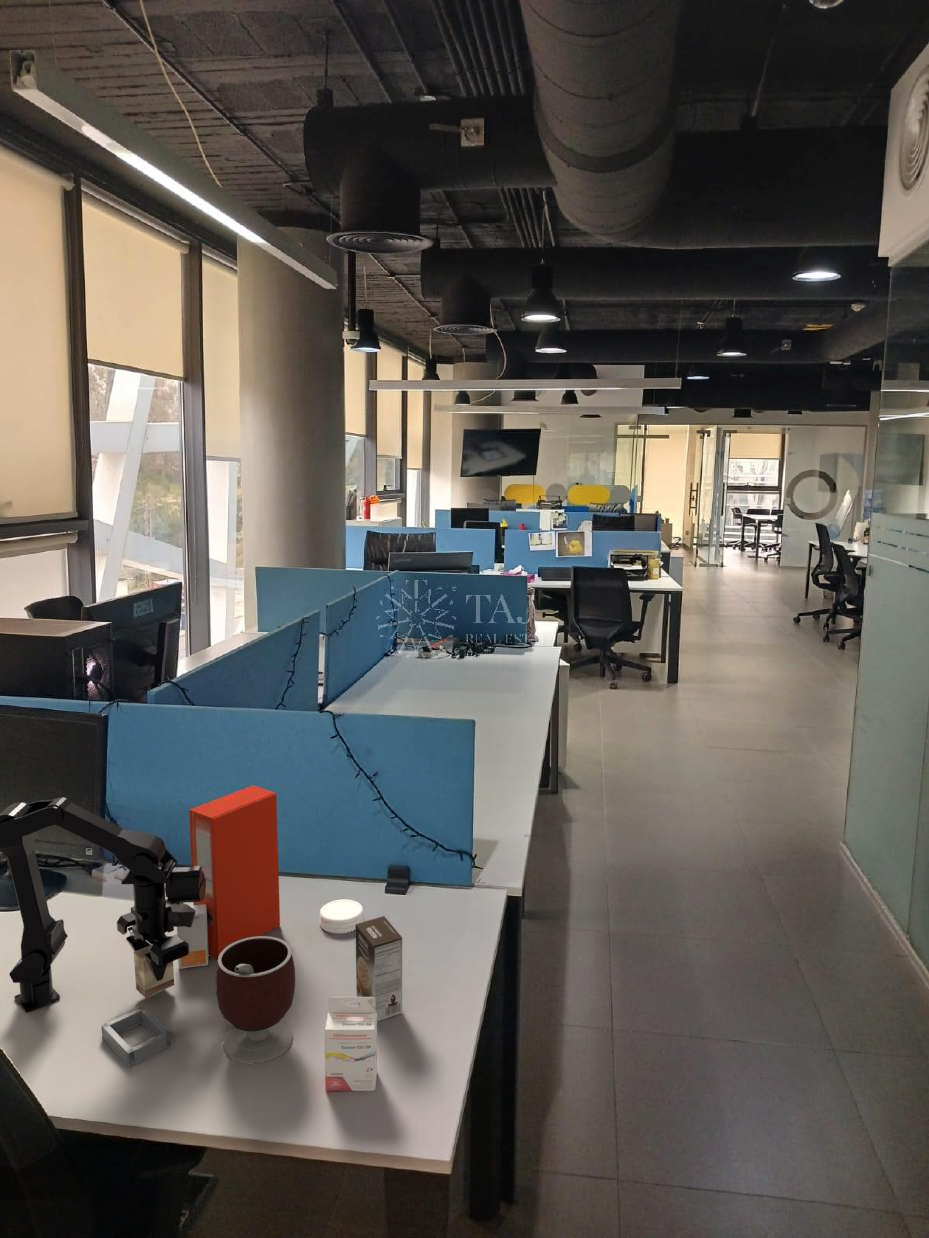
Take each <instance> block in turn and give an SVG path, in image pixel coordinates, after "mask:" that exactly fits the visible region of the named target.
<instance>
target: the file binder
mask: <svg viewBox="0 0 929 1238" xmlns="http://www.w3.org/2000/svg"><path fill="white" fill-rule="evenodd" d="M277 797H278V795H277V793H276V792H274V791H271V790H268V789H265V788H262V787H259V786H257V785H251V786H248V787H245V788H243V789H239V790H237V791H234V792H233V793H230V794H227V795H224V796H222V797H218V798H217V799H213V800H211V801H208V802H206V803H204V804H200V805H198V806H196V807H193V808H190V809H189V810H188V812H189V813H188V815H189V816H188V817H189V837H190V857H191V858H190V859H191V867H193V866H201V867H202V871H203V872H204V876H205V877H206V891H205V897H204V900H203V902H192V903H193V905H203V904H206V905H207V932H208V957H211V958H213V959H215V960H217V961H218V957H219V955H220V953H221V952H222V951H223V950H224V949H225V948H226V947H227V946H229V945H230V944H232V943H234V942H236V941H239V940H242V939H245V938H250V937H257V936H264V935H266V934H267V932H268V933H270V932H271V931H273V930H275V929H276V927H277V928H279V927H280V925H281V917H280V916H281V913H280V912H281V909H280V908H281V907H280V880H279V879H280V875H279V874H280V873H279V872H280V870H279V837H278V836H279V835H278V834H279V833H278V805H277V803H278V802H277V801H278V798H277ZM274 928H275V929H274ZM263 934H264V935H263Z"/></svg>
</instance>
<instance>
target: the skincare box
mask: <svg viewBox="0 0 929 1238" xmlns="http://www.w3.org/2000/svg"><path fill="white" fill-rule="evenodd" d="M189 906H190V907H192V908H193V909H194V910H196V912H195V916H194V920H193V923H192V927H186V926H183V927H176V935H177V936H179V937H181V938H182V939H183V940H185V941H186V942H187V943H188V944H189V954H188V955H186V956H184V957H182V958H179V959H177V960H178V963H177V964H178V969H179V970H182V969H189V968H196V967H205V966H209V955H208V932H207V905H206V904H203V905H194V904H193V905H192V904H191V905H189Z"/></svg>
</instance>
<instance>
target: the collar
mask: <svg viewBox="0 0 929 1238" xmlns="http://www.w3.org/2000/svg"><path fill="white" fill-rule="evenodd" d="M141 1024H142V1025H143V1026H144V1027H145V1028H146V1029H147V1030H148V1031H149V1032H150V1033H151V1034H152V1035H153V1036H154V1037H152V1038H150V1039H147V1040H146V1041H144V1042H141V1043H139V1044H138V1045H135V1046H133V1047H131V1046H130V1045H128V1043H127V1042H126V1041H125V1040H124V1039H123V1038H122V1037H121V1036H120V1035H119V1034H121V1033H124V1032H125V1031H128V1030H130V1029H132V1028H133V1027H136V1026H138V1025H141ZM172 1035H173V1034H172V1032H171V1031H170V1030H169V1029H168V1028H167V1027H166V1026H165V1025H164V1024H163V1023H162V1022H160V1020H158V1018H157V1017H156V1016H155V1015H154V1014H152V1013H151V1012H150V1011H149V1010H148V1009H147V1008H146V1007H145V1006H143V1005H142V1006H141V1007H139V1008H136V1009H134V1010H132V1011H130V1012H127V1013H125V1014H123V1015H121V1016H119V1017H117V1018H114V1019H112V1020H110V1021H109V1022H106V1023H104V1024H102V1025H101V1036H102V1039H103V1040H104V1041H105V1042H106V1043H107V1044H108V1046H109V1047H110V1048H111V1049H112V1050H113V1051H114V1052H115V1053H116V1054H117V1056H119V1058H120V1059H122V1061H123V1062H125V1064H126V1065H127V1066H128V1067H131V1066H133V1065H135V1064H138V1063H139V1062H141V1061H144V1060H145V1059H147V1058H150V1057H151V1056H153V1055H156V1054H157V1053H160V1052H161V1051H164V1050H166V1049H168V1048H170V1047H172V1046H173V1037H172Z"/></svg>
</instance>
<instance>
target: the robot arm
mask: <svg viewBox="0 0 929 1238" xmlns="http://www.w3.org/2000/svg"><path fill="white" fill-rule="evenodd" d="M53 826H56V827H59V828H60V829H63V830H64V831H66V832H69V833H71V834H73V835H75V836H77V837H78V838H81V839H83V840H85V841H87V842H88V843H91V844H93V845H95V846H97V847H99V848H101V849H103V850H105V851H107V852H109V853H111V854H112V855H113V856H114V857H115V858H116V859H117V860H118V862H119V863H120V864H121V866H123V867H125V868H126V869H127V870H128V872H127V873H126V874H125V876H124V877H123V878H122V880H121V881H120V883H121V885H132V888H133V891H132V892H133V903H134V905H133V906H131V907H130V912H128V913H125V914H123V915H120V916H119V918H118V919H117V921H116V929H117V932H119V933H120V934H121V935H126V934H127V933H128V932H129V936H126V938H125V940H126V942H127V943H128V945H129V946H130V947H131V949H132V951H133V953H134V952H135V951H137V950H140V949H142V948H145V947H147V946H150V945H151V946H152V947H151V949H150V952H149V953H147V954H144V955H145V957H146V960H147V962H148V964H149V966H150V968H151V970H152V972H153V974H154V976H155V978H156V980H157V981H160V980H162V979H163V976H164V973H165V970H166V966H167V964H168V963H170V962H172V961H173V962H174V961H177V960H178V959H179V958H182V957H184V956H186V955H188V954H189V944H188V943H187V942H186V941H185V940H183V939H182V938H181V937H179V936H177V934H174V935H169V936H168V935H166V933H171V932H174V931H175V928H177V927H183V926H186V927H192V923H193V920H194V916H195V912H196V910H194V909H193V908H192V907H190V906H191V905H189V904H187V903H193V902H203V900H204V897H205V891H206V877H205V876H204V872H203V871H202V867H201V866H193V867H192V866H185V867H179V866H178V867H177V865H178V861H177V859H176V858H175V857H174V856H173V855H172V854H171V852H170V851H169V850H168V849H167V848H166V845H165V841H164V840H163V839H162V837H159V836H157V835H155V834H151V833H148V832H145V831H143V830H141V831H139V830H129V829H125V828H122V826H119V825H117V824H115V823H112V822H111V821H109V820H107V819H105V818H103V817H101V816H98V815H96V814H95V813H93V812H92V811H91V812H90V811H89V810H87V809H84V808H83V807H81V806H78V805H77V804H74V803H73V802H71V801H70V799H68V798H67V797H57V798H53V799H43V800H41V799H40V800H36V801H33V802H32V801H31V802H30V803H25V802H15V803H12V804H10V805H9V806H8V807H6V808H5V809H4V810H3V811H1V813H0V852H1V853H2V854H3V855H4V856H5V857H6V858H7V861H8V862H7V863H8V866H9V870H10V871H9V872H10V874H11V875H10V876H11V878H12V882H13V887H14V892H15V895H16V899H17V905H18V909H19V912H20V916H21V919H22V925H23V926H22V927H23V929H22V934H21V942H20V957H21V958H20V959H19V960H18V962H16V965H15V966H14V967H13V968H12V969H11V971H10V972H9V974H8V975H9V977H10V979H11V980H12V983H13V984H19V994H16V995H14V1000H15V1001H16V1002H17V1004H18V1005H19V1006H20V1007H21V1008H22V1010H23V1011H24V1012H25V1013H29V1012H30V1011H33V1010H36V1009H39V1008H40V1007H44V1006H45V1005H46V1006H47V1004H50V1003H53V1002H55V1001H58V1000H60V999H61V995H60V993H58V992H57V991H56V989H55V988H54V987H53V986H54V985H53V975H52V974H53V973H52V966H51V965H52V964H53V962H55V960H56V958H57V957H58V955H59V954H60V952H61V951H62V950H63V949H64V946H65V944H66V939H67V938H68V937H69V936H68V934H67V932H66V931H65V921H64V920H63V918H62V919H61V918H60V919H59V920H56V919H55V918H53V917H52V915H51V914H50V910H49V905H48V903H47V897H46V894H45V889H44V884H43V880H42V876H41V872H40V871H41V870H40V866H39V864H38V859H37V856H36V852H35V851H36V850H35V844H36V838H37V834H38V833H37V832H38V831H41V830H43V829H45V828H48V827H53ZM160 864H162V867H161V868H160V867H159V866H160Z"/></svg>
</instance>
